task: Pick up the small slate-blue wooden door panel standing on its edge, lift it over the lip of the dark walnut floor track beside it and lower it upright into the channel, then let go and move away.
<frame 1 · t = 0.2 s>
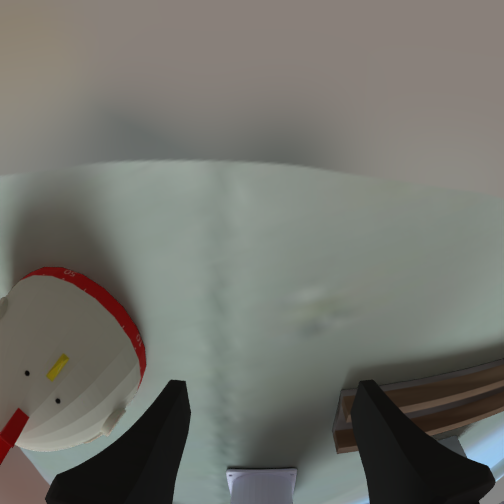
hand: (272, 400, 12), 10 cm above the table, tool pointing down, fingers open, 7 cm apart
kitchen timer: (75, 338, 24), on the table
floor track: (445, 393, 25), on the table
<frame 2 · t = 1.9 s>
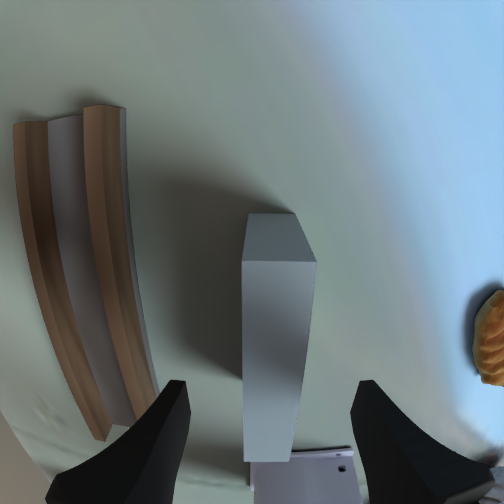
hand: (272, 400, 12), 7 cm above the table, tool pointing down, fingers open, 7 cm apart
decorative orb: (474, 476, 30), on the table
door panel: (268, 310, 19), on the table
pastry: (494, 333, 20), on the table
floor track: (101, 303, 19), on the table
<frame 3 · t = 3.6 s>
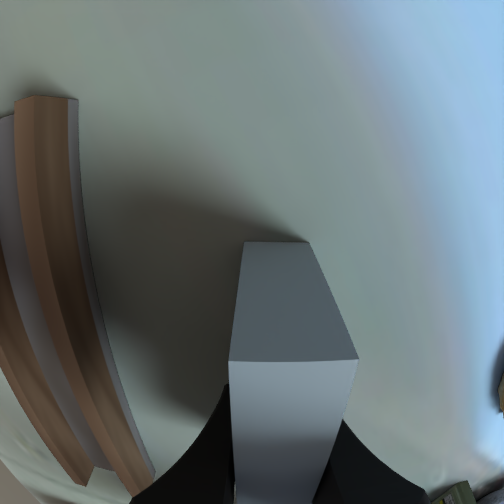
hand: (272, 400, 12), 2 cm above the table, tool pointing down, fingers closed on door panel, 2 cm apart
decorative orb: (483, 497, 26), on the table
door panel: (271, 363, 14), on the table, touching gripper
floor track: (65, 346, 14), on the table
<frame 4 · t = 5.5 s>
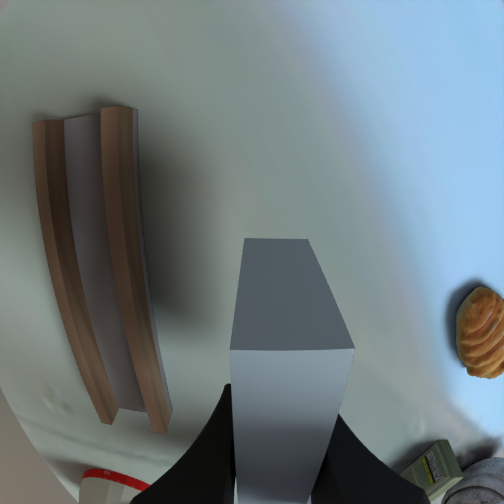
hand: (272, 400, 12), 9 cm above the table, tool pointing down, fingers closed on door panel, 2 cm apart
decorative orb: (470, 467, 32), on the table
door panel: (270, 359, 15), point 7 cm above the table, touching gripper
kitchen timer: (128, 491, 34), on the table
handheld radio: (383, 487, 32), on the table
pastry: (478, 328, 22), on the table
floor track: (112, 289, 21), on the table
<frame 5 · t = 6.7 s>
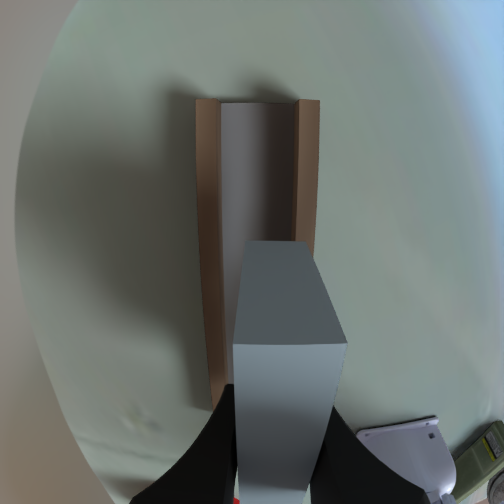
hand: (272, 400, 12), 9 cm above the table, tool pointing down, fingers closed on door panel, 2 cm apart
door panel: (270, 356, 15), point 6 cm above the table, touching gripper
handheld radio: (441, 472, 32), on the table
floor track: (256, 295, 21), on the table
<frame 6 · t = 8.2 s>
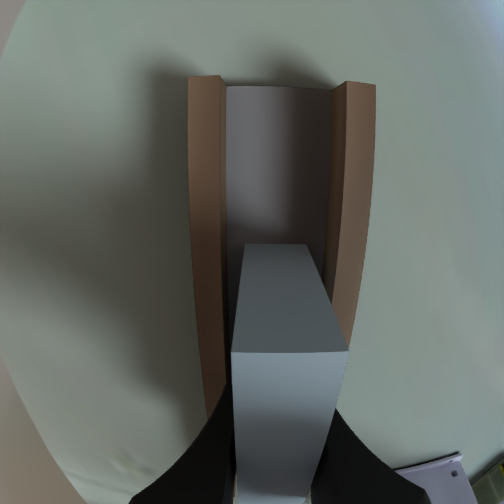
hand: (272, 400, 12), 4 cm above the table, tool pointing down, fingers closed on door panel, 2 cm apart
door panel: (270, 360, 15), point 1 cm above the table, touching floor track, gripper
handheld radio: (453, 497, 27), on the table
floor track: (270, 346, 16), on the table
when the fingers open (4 cm above the table, at t = 8.9 s): door panel stays where it is, resting on floor track.
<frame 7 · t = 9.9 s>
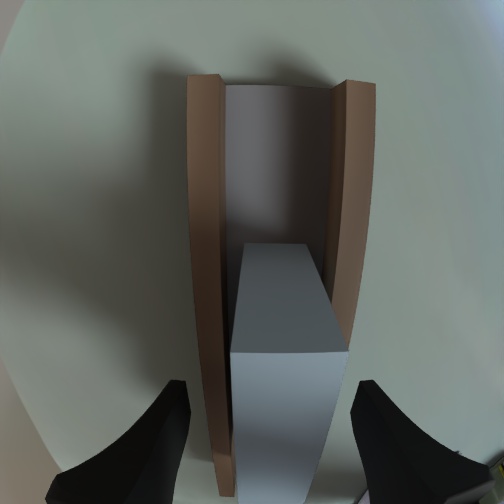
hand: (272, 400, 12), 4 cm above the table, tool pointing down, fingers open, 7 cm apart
door panel: (270, 360, 15), point 1 cm above the table, touching floor track
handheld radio: (452, 498, 27), on the table
floor track: (270, 346, 16), on the table
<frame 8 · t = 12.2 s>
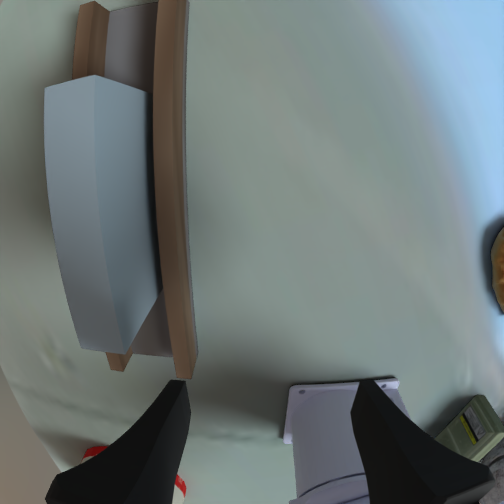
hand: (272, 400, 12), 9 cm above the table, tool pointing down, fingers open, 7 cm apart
decorative orb: (502, 437, 30), on the table
door panel: (135, 196, 18), point 1 cm above the table, touching floor track
kitchen timer: (134, 474, 31), on the table
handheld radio: (412, 459, 30), on the table
floor track: (140, 189, 19), on the table
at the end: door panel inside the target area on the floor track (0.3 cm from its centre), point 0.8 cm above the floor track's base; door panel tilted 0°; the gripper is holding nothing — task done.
